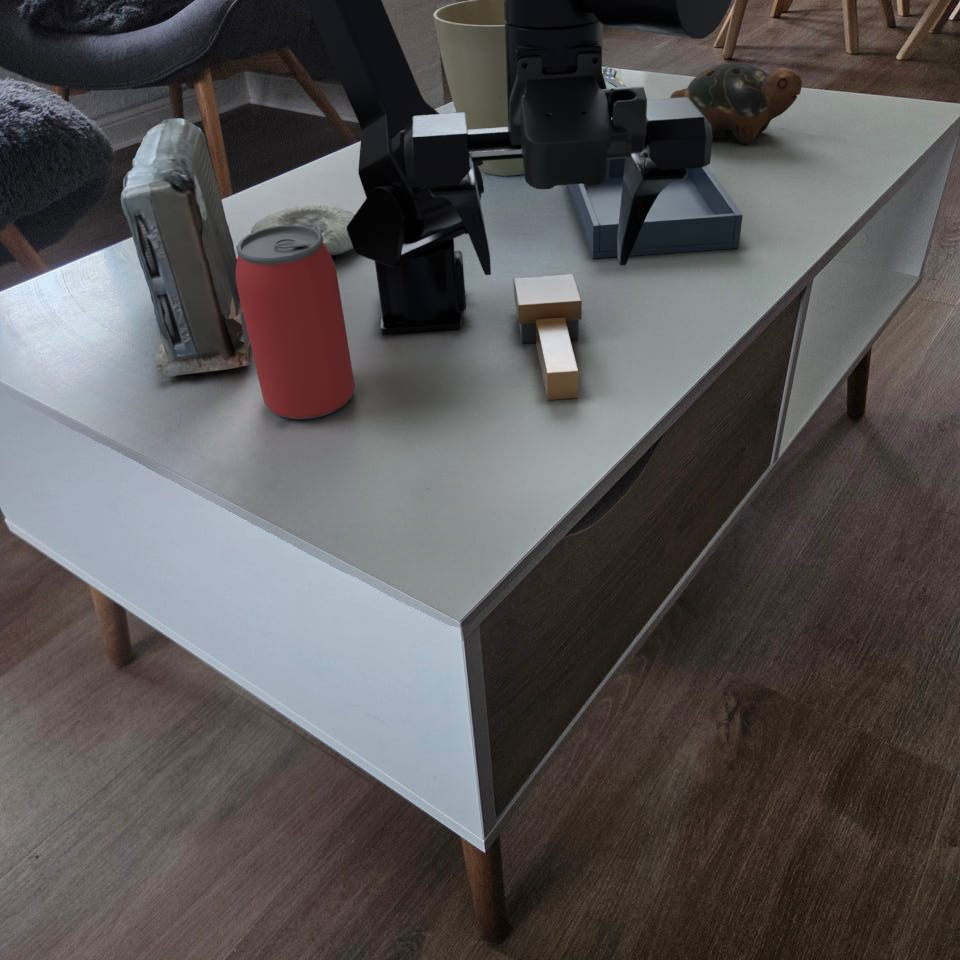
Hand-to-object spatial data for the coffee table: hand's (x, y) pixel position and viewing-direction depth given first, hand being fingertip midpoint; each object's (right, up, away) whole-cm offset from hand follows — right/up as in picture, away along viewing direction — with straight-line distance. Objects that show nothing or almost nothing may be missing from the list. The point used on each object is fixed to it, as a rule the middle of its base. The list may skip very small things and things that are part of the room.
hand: (554, 268), depth 63 cm
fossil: (-22, +7, +25) cm, 34 cm away
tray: (+11, +12, +27) cm, 32 cm away
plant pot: (-2, +21, +41) cm, 46 cm away
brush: (0, -5, +7) cm, 8 cm away
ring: (+9, +26, +47) cm, 54 cm away
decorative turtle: (+24, +26, +45) cm, 57 cm away
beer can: (-17, -9, +4) cm, 20 cm away
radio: (-29, -1, +15) cm, 32 cm away
